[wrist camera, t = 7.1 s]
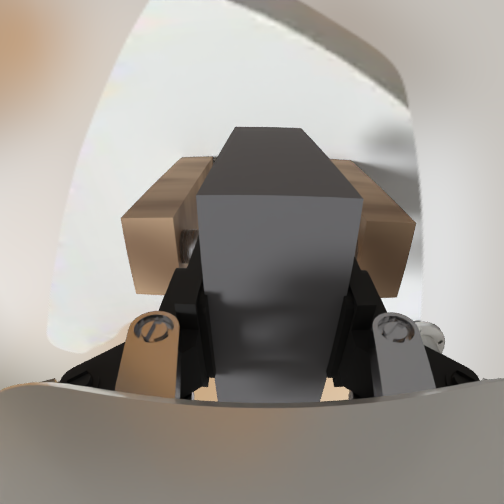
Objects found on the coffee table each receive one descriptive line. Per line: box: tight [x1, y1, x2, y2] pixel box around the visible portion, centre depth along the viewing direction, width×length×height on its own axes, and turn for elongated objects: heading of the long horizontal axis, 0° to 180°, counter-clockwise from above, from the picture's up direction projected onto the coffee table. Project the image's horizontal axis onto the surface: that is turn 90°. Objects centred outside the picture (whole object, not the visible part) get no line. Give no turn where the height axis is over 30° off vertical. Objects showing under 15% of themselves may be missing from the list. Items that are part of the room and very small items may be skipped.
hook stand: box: [121, 157, 416, 298], centre depth 23 cm, size 5×16×14 cm, turn 90°
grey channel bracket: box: [196, 127, 363, 403], centre depth 14 cm, size 13×4×11 cm, turn 0°
